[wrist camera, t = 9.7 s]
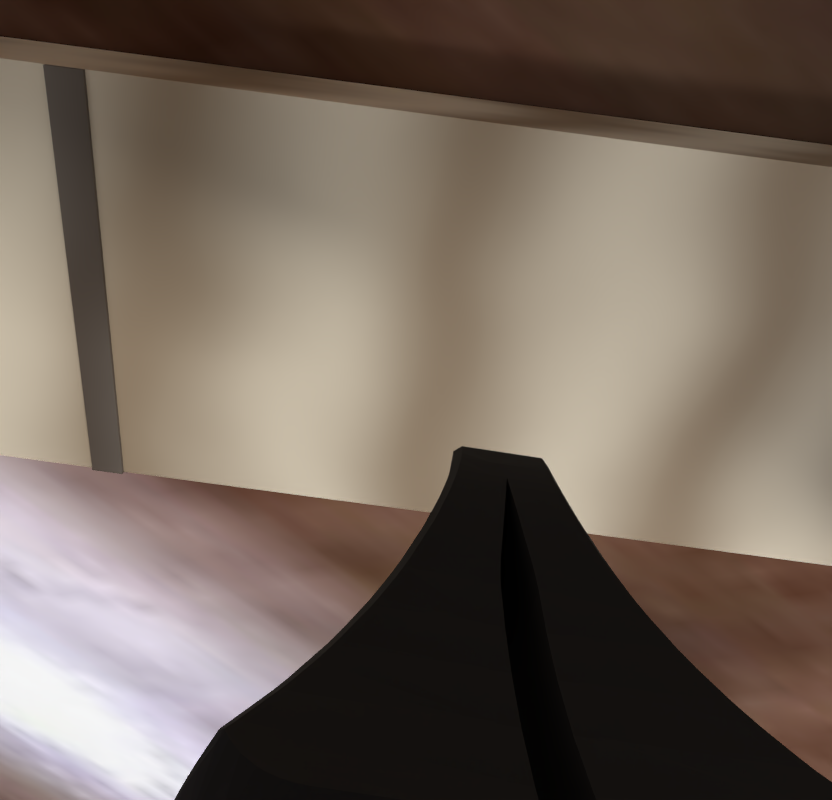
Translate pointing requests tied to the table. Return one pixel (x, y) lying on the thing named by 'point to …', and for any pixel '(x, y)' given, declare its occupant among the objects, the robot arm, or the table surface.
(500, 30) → the table surface
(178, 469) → the maple board
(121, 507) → the table surface
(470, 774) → the robot arm
